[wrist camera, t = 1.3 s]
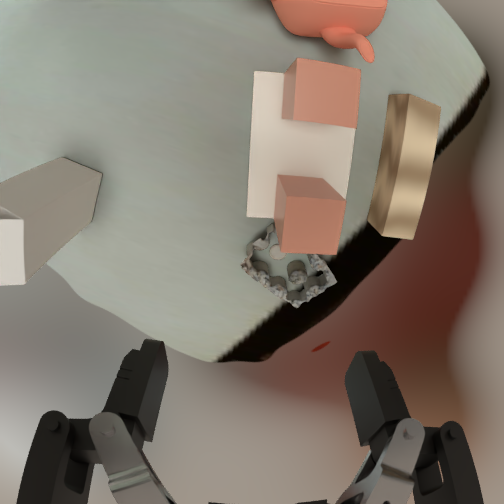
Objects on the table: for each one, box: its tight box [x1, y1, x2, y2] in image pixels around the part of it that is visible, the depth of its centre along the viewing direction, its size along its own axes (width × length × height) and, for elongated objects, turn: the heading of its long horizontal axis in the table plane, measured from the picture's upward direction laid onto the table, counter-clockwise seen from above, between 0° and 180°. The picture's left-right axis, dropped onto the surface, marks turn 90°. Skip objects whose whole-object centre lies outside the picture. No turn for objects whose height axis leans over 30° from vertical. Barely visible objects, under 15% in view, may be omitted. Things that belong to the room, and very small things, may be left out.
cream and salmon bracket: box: [247, 58, 361, 255], centre depth 24 cm, size 16×11×10 cm
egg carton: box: [241, 224, 337, 308], centre depth 33 cm, size 11×8×4 cm
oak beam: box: [367, 94, 441, 239], centre depth 26 cm, size 16×4×5 cm, turn 175°
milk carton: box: [0, 157, 102, 285], centre depth 21 cm, size 7×7×19 cm
